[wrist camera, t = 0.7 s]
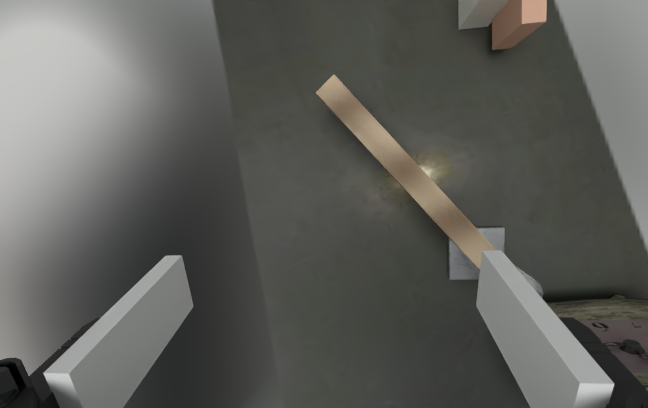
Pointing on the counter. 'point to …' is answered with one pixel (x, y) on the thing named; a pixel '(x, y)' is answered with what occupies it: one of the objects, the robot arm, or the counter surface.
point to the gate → (404, 169)
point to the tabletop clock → (615, 327)
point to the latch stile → (503, 18)
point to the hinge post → (466, 269)
